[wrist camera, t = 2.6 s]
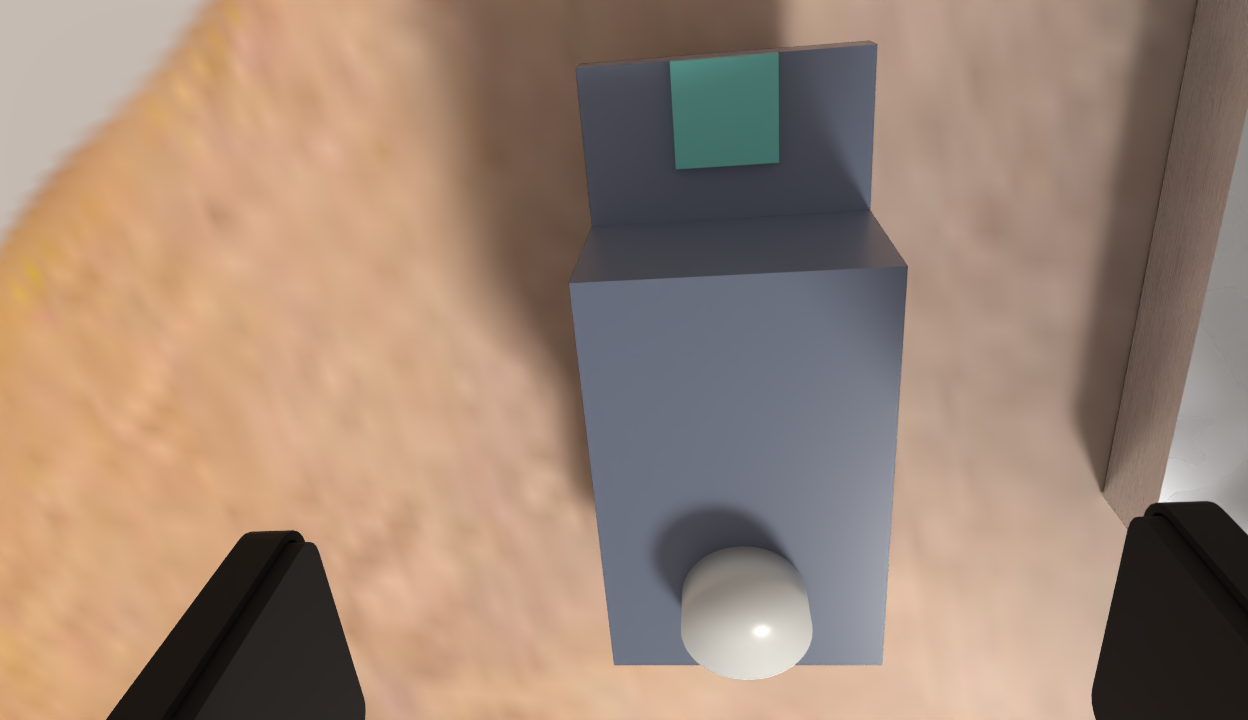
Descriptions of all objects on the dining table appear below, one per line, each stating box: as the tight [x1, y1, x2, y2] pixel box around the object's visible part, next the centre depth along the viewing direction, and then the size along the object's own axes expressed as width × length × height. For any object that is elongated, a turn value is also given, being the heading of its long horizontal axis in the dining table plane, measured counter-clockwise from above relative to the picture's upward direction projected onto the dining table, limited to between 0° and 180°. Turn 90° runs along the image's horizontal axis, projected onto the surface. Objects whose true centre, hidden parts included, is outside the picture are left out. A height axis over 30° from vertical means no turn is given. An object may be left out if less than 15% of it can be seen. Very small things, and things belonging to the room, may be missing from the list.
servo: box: [569, 41, 908, 680], centre depth 15 cm, size 4×12×6 cm, turn 5°
